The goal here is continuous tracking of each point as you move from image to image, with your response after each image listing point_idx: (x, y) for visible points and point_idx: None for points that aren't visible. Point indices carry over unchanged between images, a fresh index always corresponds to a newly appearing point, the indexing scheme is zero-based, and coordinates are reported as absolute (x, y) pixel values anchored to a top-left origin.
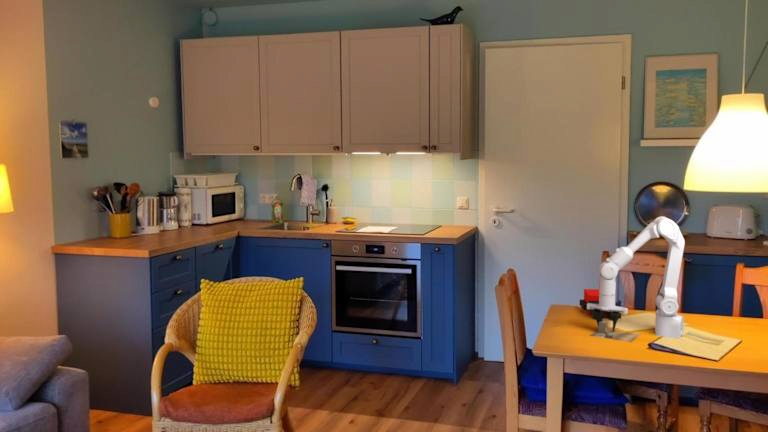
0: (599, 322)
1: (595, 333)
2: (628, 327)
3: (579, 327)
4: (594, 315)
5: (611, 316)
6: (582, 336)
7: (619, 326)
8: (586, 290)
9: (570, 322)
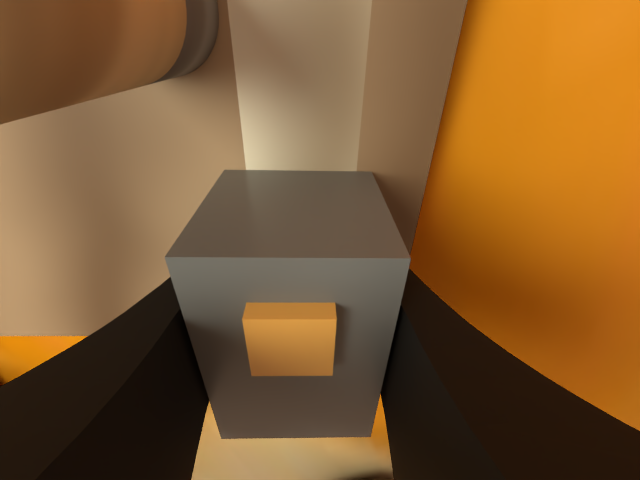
0: (394, 263)
1: (403, 126)
2: (246, 445)
3: (561, 335)
4: (603, 418)
5: (5, 473)
6: (566, 26)
7: (298, 441)
8: None
9: (614, 398)
